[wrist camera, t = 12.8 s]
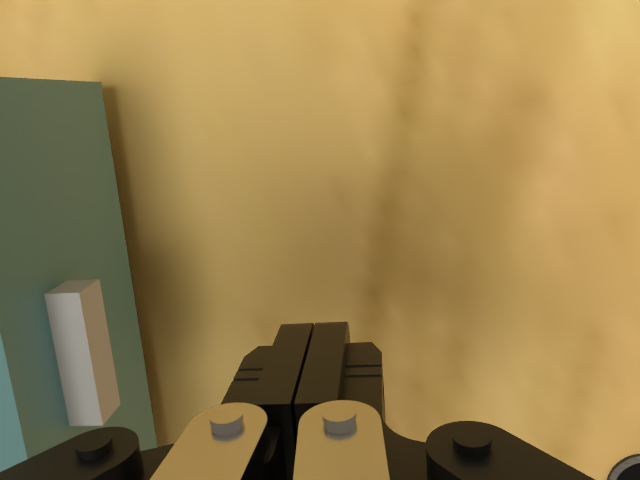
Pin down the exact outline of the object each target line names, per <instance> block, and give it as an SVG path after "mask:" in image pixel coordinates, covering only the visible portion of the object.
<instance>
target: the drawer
mask: <svg viewBox="0 0 640 480" xmlns="http://www.w3.org/2000/svg"><path fill="white" fill-rule="evenodd" d="M104 427H124V428H128V429H130V430H132V431H134V432H135V433H136V434H137V436H138V439H139V445H140V450H141V451H143V450H148V449H152V448H157V447H158V446H157V439H156V433H155V426H154V420H153V414H152V407H151V401H150V394H149V388H148V381H147V375H146V369H145V362H144V356H143V349H142V343H141V337H140V330H139V324H138V317H137V311H136V304H135V298H134V292H133V285H132V279H131V272H130V266H129V259H128V253H127V247H126V240H125V234H124V227H123V221H122V214H121V208H120V202H119V195H118V189H117V182H116V176H115V169H114V163H113V157H112V150H111V144H110V137H109V131H108V124H107V118H106V112H105V105H104V99H103V92H102V86H101V82H86V81H66V80H47V79H28V78H9V77H0V472H1V471H4V470H6V469H8V468H10V467H12V466H14V465H16V464H18V463H20V462H22V461H25V460H27V459H29V458H31V457H33V456H35V455H37V454H39V453H41V452H44V451H46V450H48V449H50V448H52V447H54V446H56V445H58V444H60V443H62V442H65V441H67V440H69V439H71V438H73V437H75V436H77V435H80V434H82V433H84V432H87V431H90V430H94V429H98V428H104Z"/></svg>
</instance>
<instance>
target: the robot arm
mask: <svg viewBox="0 0 640 480" xmlns="http://www.w3.org/2000/svg"><path fill="white" fill-rule="evenodd" d="M0 480H595V479H593V478H591V477H589V476H587V475H585V474H584V473H582V472H580V471H578V470H576V469H574V468H573V467H571V466H569V465H567V464H565V463H563V462H562V461H560V460H558V459H556V458H554V457H552V456H551V455H549V454H547V453H545V452H543V451H541V450H540V449H538V448H536V447H534V446H532V445H530V444H529V443H527V442H525V441H523V440H521V439H519V438H518V437H516V436H514V435H512V434H510V433H508V432H507V431H505V430H503V429H501V428H499V427H497V426H494V425H491V424H487V423H483V422H476V421H458V422H452V423H448V424H445V425H442V426H440V427H438V428H436V429H435V430H434V431H432V432H431V433H430V435H429V436H428V438H427V440H426V443H425V442H419V441H415V440H411V439H408V438H405V437H402V436H400V435H398V434H396V433H395V432H393V431H392V430H391V429H390V428H389V427H388V426H387V425H386V424H385V403H384V386H383V369H382V352H381V351H380V350H379V349H378V348H377V347H376V346H375V345H374V344H373V343H372V342H365V343H350V333H349V325H348V322H328V323H315V325H314V323H304V324H282V325H281V326H280V329H279V331H278V334H277V336H276V338H275V341H274V343H273V346H258V347H257V348H256V349H254V350H253V351H252V352H250V353H249V354H248V355H246V356H245V357H244V359H243V361H242V363H241V365H240V367H239V369H238V371H237V373H236V375H235V377H234V381H232V383H231V385H230V387H229V389H228V391H227V393H226V395H225V397H224V399H223V401H222V403H221V405H217V406H214V407H211V408H209V409H206V410H205V411H203V412H201V413H199V414H198V415H196V416H195V417H194V418H193V419H192V420H191V421H190V422H189V424H188V425H187V427H186V428H185V430H184V431H183V432H182V434H181V435H180V437H179V438H178V440H177V441H176V443H175V444H171V445H167V446H162V447H157V448H152V449H148V450H143V451H141V450H140V445H139V439H138V436H137V434H136V433H135V432H134V431H132V430H130V429H128V428H124V427H104V428H98V429H94V430H90V431H87V432H84V433H82V434H80V435H77V436H75V437H73V438H71V439H69V440H67V441H65V442H62V443H60V444H58V445H56V446H54V447H52V448H50V449H48V450H46V451H44V452H41V453H39V454H37V455H35V456H33V457H31V458H29V459H27V460H25V461H22V462H20V463H18V464H16V465H14V466H12V467H10V468H8V469H6V470H4V471H1V472H0Z"/></svg>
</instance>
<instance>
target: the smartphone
mask: <svg viewBox="0 0 640 480" xmlns="http://www.w3.org/2000/svg"><path fill="white" fill-rule="evenodd" d="M607 480H640V454H637V455H632V456H629V457H627V458H624V459H623V460H621V461H620V462H618V463H617V464H616V465H615V466H614V467H613V468H612V470H611V471H610V473H609V475H608V478H607Z"/></svg>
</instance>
